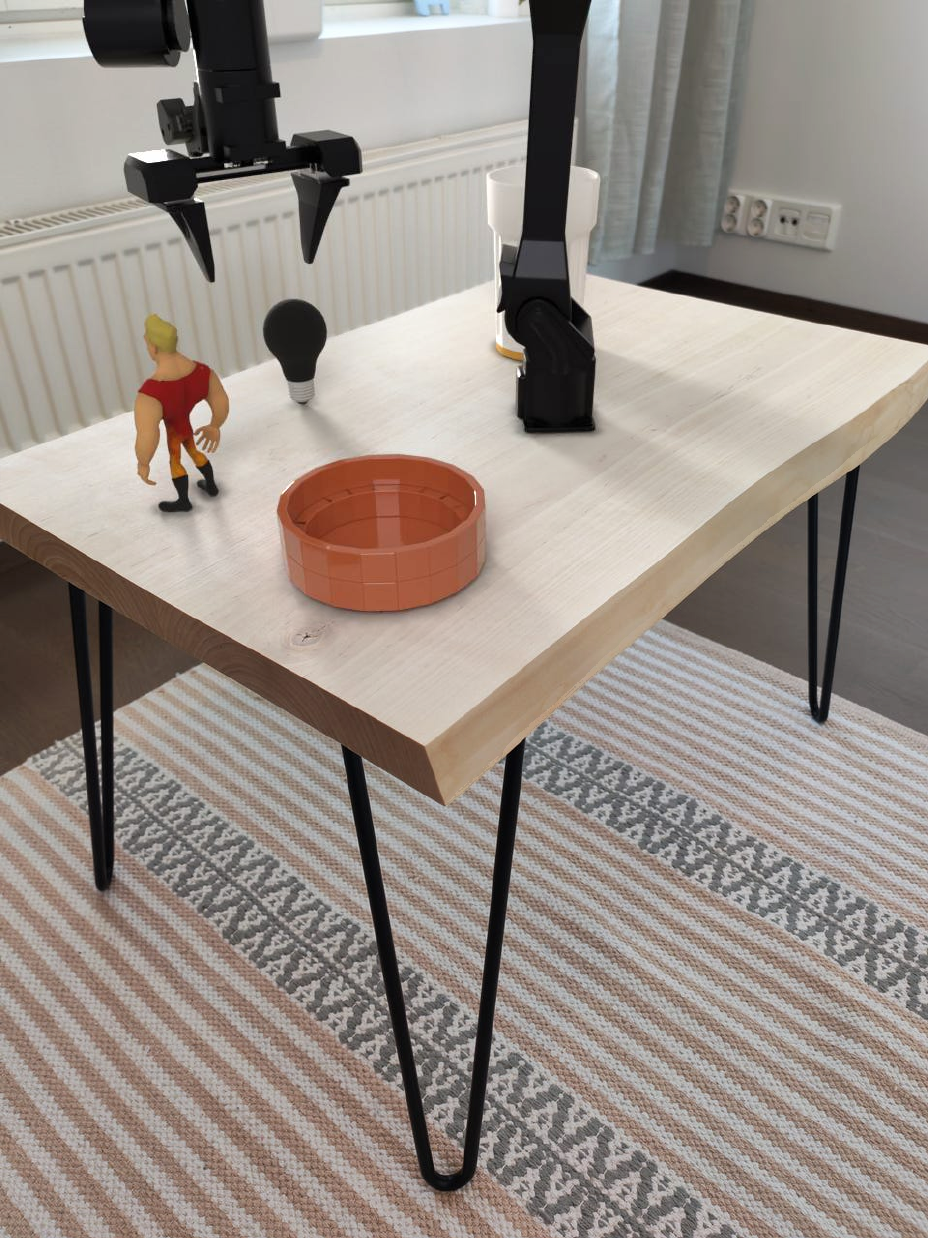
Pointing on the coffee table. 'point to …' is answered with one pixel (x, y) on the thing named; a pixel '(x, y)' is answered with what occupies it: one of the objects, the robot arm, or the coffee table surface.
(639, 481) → the coffee table surface
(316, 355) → the light bulb
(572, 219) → the cup
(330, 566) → the bowl
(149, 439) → the action figure
